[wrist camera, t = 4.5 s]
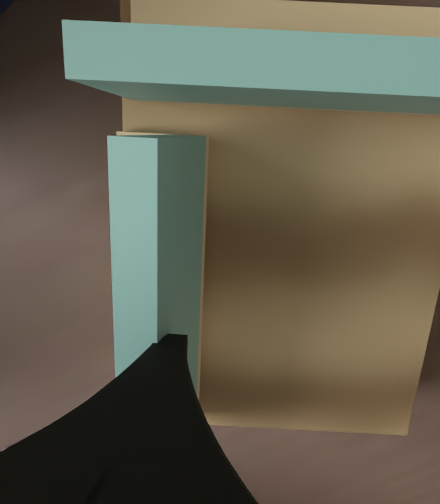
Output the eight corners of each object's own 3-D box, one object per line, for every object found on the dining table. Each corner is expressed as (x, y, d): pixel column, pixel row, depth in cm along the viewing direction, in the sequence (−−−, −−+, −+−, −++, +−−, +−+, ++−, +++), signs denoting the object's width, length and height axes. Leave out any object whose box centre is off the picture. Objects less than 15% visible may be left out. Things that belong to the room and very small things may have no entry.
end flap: (464, 117, 13) (646, 107, 8) (136, 101, 13) (65, 79, 8) (485, 16, 13) (710, -85, 7) (134, -1, 13) (53, -114, 7)
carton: (379, 385, 21) (408, 435, 17) (145, 373, 21) (129, 420, 17) (445, 41, 16) (503, 17, 13) (142, 26, 16) (119, -1, 13)
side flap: (208, 135, 13) (157, 138, 8) (198, 421, 17) (157, 574, 11) (122, 131, 14) (10, 130, 8) (129, 412, 17) (53, 555, 11)
